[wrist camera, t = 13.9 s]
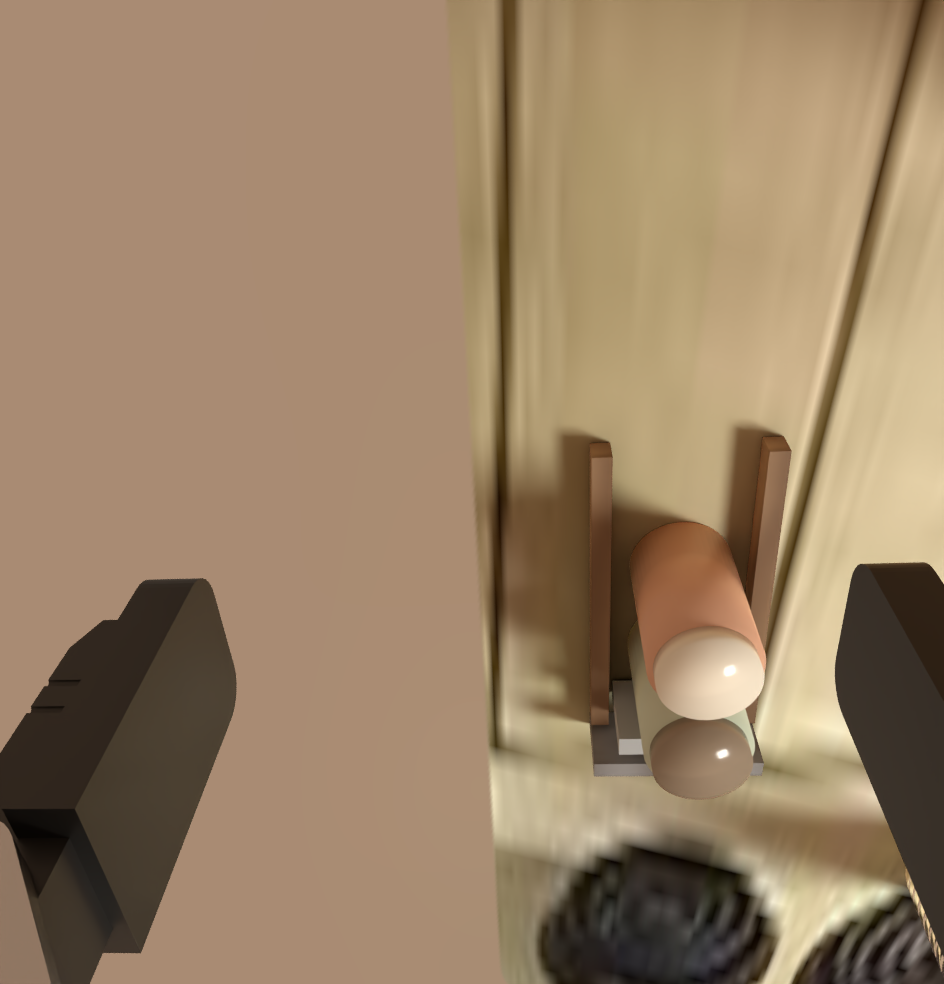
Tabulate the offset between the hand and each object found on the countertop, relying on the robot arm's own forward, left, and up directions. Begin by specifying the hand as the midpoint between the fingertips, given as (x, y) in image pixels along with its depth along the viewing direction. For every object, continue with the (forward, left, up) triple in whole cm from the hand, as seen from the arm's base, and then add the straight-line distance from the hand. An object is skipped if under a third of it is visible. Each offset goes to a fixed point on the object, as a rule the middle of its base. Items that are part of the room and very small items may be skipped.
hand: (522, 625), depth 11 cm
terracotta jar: (-13, +19, -30) cm, 38 cm away
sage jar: (-14, +24, -30) cm, 41 cm away
